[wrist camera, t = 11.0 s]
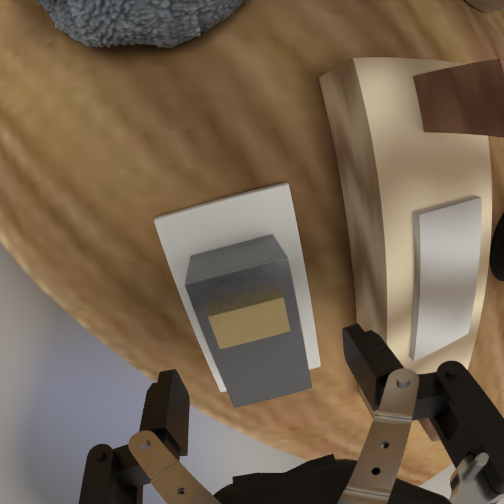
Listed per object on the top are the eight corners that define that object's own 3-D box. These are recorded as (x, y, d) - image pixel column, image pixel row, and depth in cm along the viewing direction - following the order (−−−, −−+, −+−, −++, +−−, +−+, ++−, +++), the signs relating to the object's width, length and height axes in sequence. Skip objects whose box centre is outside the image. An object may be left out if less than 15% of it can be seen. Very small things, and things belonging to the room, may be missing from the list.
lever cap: (190, 255, 18) (183, 292, 13) (272, 233, 18) (292, 264, 13) (230, 367, 21) (235, 416, 16) (297, 350, 21) (315, 396, 16)
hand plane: (318, 77, 16) (432, 18, 5) (428, 74, 16) (549, 57, 6) (358, 392, 25) (407, 482, 14) (435, 358, 25) (495, 428, 15)
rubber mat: (156, 217, 17) (153, 220, 17) (285, 182, 18) (288, 183, 17) (220, 385, 22) (220, 392, 22) (317, 359, 23) (320, 366, 22)
